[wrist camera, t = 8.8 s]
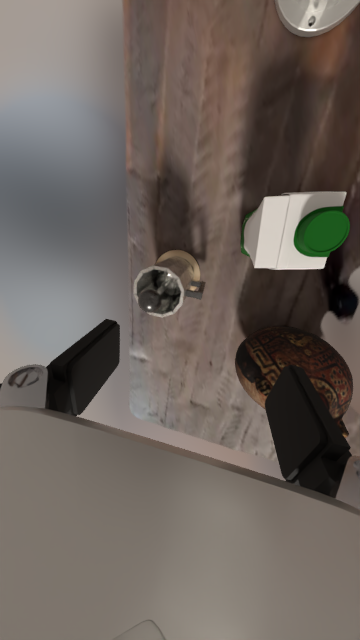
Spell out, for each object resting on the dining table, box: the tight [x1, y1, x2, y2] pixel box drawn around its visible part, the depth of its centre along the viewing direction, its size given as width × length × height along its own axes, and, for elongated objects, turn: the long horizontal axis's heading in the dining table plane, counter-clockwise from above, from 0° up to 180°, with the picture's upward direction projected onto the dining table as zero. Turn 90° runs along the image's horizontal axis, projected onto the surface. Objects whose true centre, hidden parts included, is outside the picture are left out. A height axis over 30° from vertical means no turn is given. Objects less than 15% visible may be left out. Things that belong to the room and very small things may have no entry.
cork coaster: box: [156, 250, 200, 291], centre depth 43 cm, size 11×11×1 cm
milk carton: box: [240, 192, 350, 270], centre depth 28 cm, size 9×9×20 cm
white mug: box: [134, 256, 205, 317], centre depth 36 cm, size 8×11×14 cm
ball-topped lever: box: [138, 270, 181, 313], centre depth 32 cm, size 6×6×15 cm
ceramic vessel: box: [235, 326, 353, 482], centre depth 33 cm, size 21×18×30 cm
